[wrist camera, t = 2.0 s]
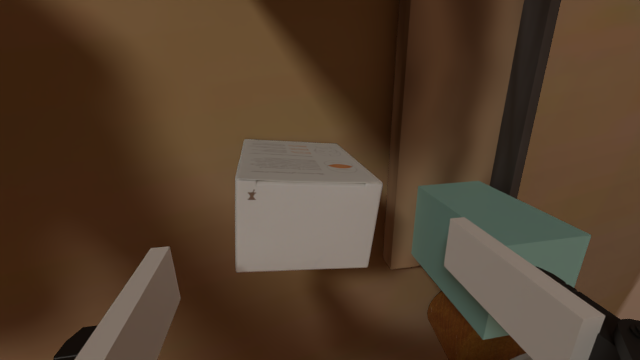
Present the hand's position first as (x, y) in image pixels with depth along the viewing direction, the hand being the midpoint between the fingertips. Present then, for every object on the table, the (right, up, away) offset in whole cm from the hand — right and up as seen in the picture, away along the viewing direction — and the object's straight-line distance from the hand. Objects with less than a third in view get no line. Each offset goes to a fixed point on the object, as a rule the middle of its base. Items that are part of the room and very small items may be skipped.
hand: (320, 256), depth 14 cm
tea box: (+12, 0, +14) cm, 18 cm away
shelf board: (+11, +9, +13) cm, 19 cm away
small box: (-3, +4, +12) cm, 13 cm away
